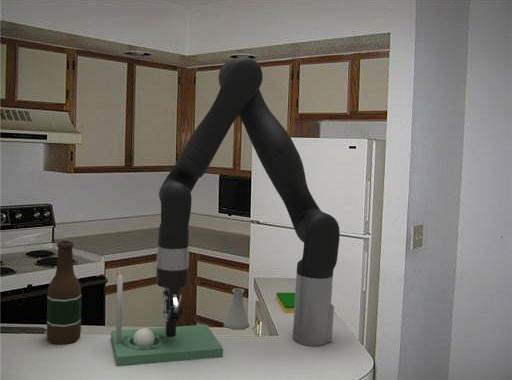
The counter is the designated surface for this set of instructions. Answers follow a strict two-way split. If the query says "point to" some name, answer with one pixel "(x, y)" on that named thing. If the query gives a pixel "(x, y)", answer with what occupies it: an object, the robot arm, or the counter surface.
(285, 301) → the dish sponge
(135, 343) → the ball
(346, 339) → the counter surface
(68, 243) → the beer bottle
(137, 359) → the putting board
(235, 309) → the flask
